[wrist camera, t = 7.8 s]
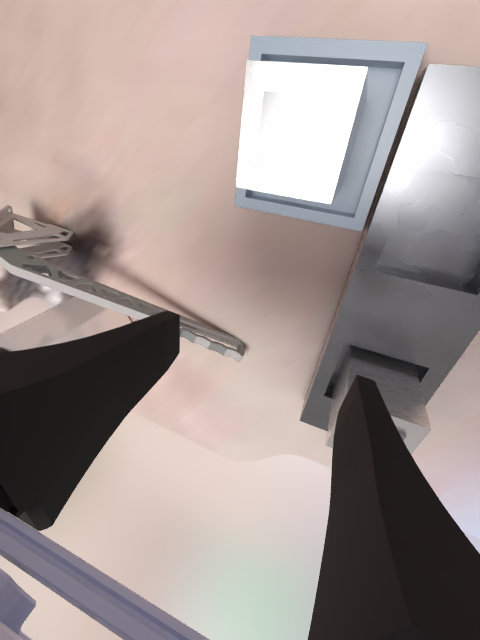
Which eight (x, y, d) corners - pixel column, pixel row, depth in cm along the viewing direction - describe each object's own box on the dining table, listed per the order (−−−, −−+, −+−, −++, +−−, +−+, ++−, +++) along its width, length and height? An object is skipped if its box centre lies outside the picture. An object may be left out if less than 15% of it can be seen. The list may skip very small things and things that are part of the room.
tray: (420, 55, 13) (427, 42, 11) (361, 224, 17) (361, 231, 15) (262, 47, 14) (251, 35, 13) (244, 201, 18) (234, 206, 17)
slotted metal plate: (607, 90, 11) (660, 77, 9) (387, 428, 23) (389, 454, 21) (418, 77, 13) (428, 63, 11) (305, 399, 25) (299, 420, 23)
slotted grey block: (413, 357, 18) (431, 432, 13) (389, 398, 21) (396, 476, 16) (351, 338, 19) (346, 403, 14) (334, 380, 22) (325, 448, 17)
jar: (85, 347, 34) (-27, 425, 24) (67, 285, 29) (-79, 351, 20) (148, 369, 31) (51, 465, 22) (138, 305, 27) (12, 390, 17)
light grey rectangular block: (366, 97, 13) (368, 65, 8) (341, 188, 16) (330, 204, 11) (286, 91, 14) (245, 58, 9) (272, 177, 17) (233, 187, 12)
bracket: (10, 203, 24) (-86, 265, 16) (242, 278, 30) (250, 347, 23) (14, 236, 25) (-70, 305, 18) (231, 300, 32) (235, 370, 24)
